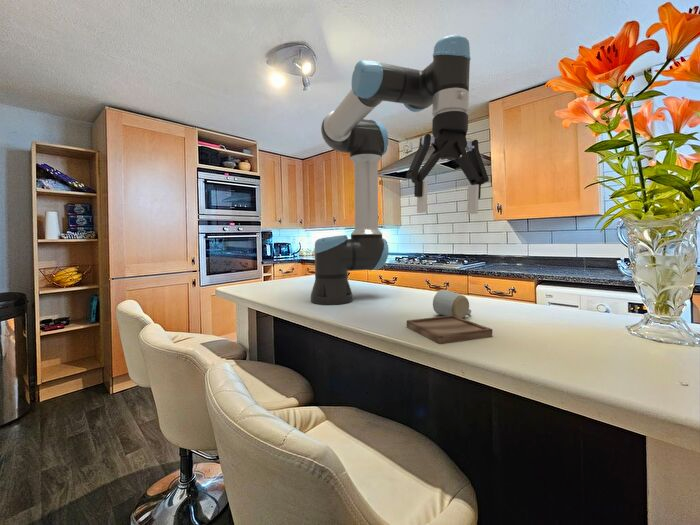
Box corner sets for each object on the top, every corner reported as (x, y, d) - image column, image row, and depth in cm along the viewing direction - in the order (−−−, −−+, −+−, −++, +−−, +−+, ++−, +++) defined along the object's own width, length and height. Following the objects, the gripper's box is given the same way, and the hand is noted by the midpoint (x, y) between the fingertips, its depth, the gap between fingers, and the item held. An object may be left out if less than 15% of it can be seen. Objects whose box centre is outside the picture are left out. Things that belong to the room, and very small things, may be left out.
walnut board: (406, 326, 81) (406, 320, 81) (452, 321, 85) (452, 315, 85) (439, 344, 68) (439, 336, 67) (492, 336, 72) (492, 329, 72)
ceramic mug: (453, 321, 85) (454, 294, 85) (431, 315, 92) (432, 290, 92) (478, 317, 91) (479, 291, 90) (456, 311, 97) (456, 287, 97)
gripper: (408, 101, 62) (407, 210, 64) (507, 116, 71) (504, 213, 73) (391, 114, 69) (390, 213, 71) (483, 127, 78) (480, 215, 80)
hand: (448, 213), depth 72 cm, fingers open, 13 cm apart
